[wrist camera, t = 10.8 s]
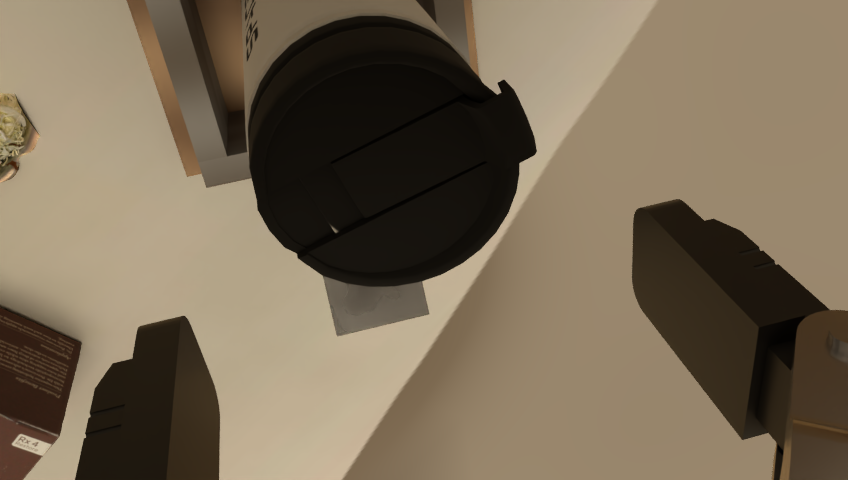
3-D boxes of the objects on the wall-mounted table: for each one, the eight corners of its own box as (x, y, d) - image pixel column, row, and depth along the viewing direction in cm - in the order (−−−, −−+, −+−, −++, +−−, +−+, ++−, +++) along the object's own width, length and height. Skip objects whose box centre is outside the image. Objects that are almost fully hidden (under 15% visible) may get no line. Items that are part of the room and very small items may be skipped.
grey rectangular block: (300, 175, 32) (299, 173, 31) (390, 155, 33) (392, 152, 32) (336, 332, 33) (337, 336, 31) (426, 311, 33) (429, 314, 32)
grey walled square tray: (73, -172, 29) (39, -164, 24) (443, -231, 31) (483, -235, 26) (188, 168, 37) (181, 226, 32) (476, 106, 39) (513, 153, 34)
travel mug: (411, 16, 35) (575, 225, 18) (287, 82, 35) (335, 349, 18) (349, -118, 31) (479, -12, 15) (212, -42, 32) (187, 145, 15)
